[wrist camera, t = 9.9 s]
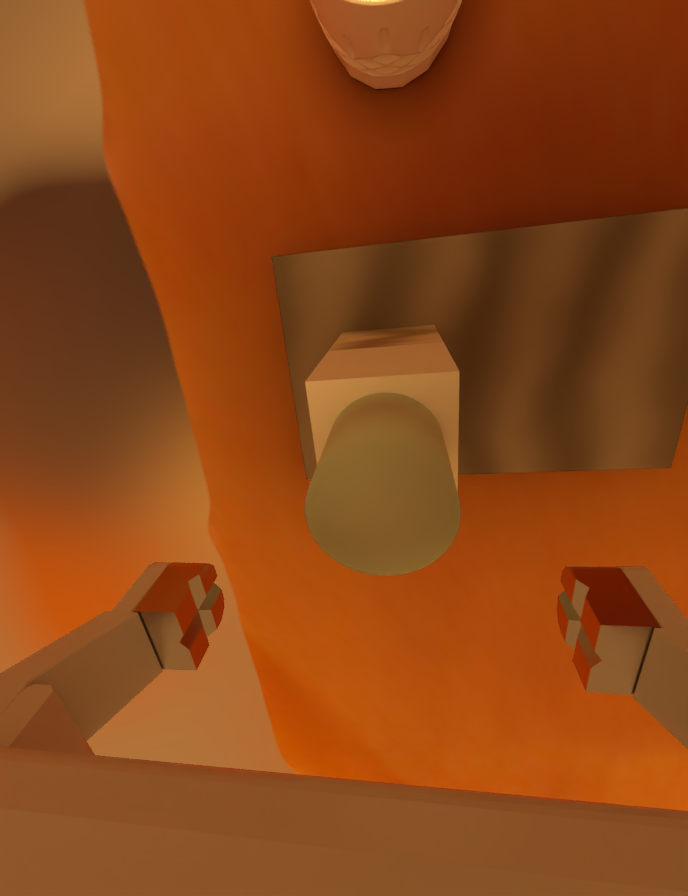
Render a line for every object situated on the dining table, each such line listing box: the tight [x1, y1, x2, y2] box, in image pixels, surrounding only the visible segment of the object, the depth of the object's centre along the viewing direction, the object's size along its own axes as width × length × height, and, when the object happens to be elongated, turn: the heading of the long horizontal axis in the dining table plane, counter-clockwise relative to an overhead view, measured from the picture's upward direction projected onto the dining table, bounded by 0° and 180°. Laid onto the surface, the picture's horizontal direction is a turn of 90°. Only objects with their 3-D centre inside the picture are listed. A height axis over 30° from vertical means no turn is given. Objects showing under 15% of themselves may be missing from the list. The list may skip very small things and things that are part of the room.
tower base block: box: [329, 325, 443, 351], centre depth 25 cm, size 6×6×6 cm
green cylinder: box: [305, 393, 461, 576], centre depth 15 cm, size 5×5×5 cm
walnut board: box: [272, 208, 688, 479], centre depth 28 cm, size 26×16×2 cm, turn 96°
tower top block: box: [305, 342, 459, 492], centre depth 20 cm, size 6×6×6 cm
